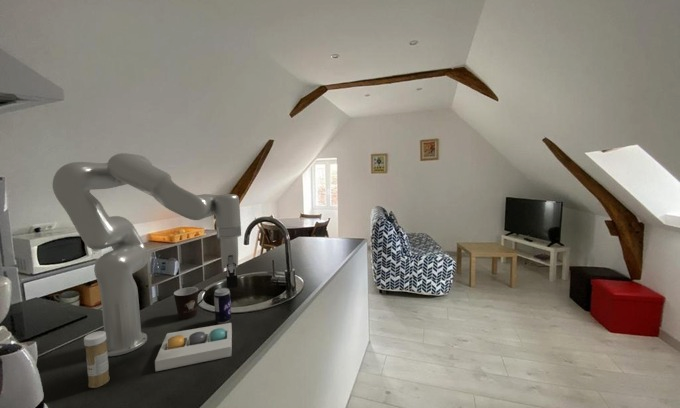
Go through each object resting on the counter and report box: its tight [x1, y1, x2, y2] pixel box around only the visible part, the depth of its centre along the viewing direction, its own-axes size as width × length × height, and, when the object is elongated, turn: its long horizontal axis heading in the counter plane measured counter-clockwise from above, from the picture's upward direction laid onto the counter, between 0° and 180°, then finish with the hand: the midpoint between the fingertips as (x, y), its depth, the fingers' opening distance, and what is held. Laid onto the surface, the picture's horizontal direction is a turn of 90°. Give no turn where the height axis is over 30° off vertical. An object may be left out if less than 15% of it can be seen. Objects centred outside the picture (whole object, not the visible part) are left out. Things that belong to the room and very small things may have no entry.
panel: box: [154, 322, 233, 372], centre depth 94 cm, size 20×16×3 cm
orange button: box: [168, 335, 184, 350], centre depth 92 cm, size 4×4×2 cm
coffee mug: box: [173, 286, 208, 320], centre depth 118 cm, size 12×9×10 cm
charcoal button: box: [189, 332, 205, 346], centre depth 94 cm, size 4×4×2 cm
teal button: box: [210, 328, 225, 342], centre depth 96 cm, size 4×4×2 cm
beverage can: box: [213, 287, 232, 325], centre depth 112 cm, size 6×6×12 cm
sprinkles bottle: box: [83, 330, 111, 389], centre depth 79 cm, size 5×5×14 cm
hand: (232, 282), depth 99 cm, fingers open, 9 cm apart
